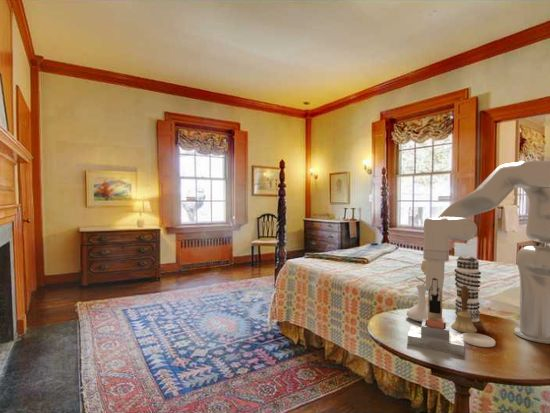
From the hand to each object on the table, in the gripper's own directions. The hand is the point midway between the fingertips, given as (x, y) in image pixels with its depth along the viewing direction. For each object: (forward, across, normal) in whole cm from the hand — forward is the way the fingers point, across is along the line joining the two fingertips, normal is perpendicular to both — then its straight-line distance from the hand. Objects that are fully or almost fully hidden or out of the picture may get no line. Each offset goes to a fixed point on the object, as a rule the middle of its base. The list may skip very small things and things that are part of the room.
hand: (435, 310), depth 107 cm
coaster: (+11, -10, +13) cm, 20 cm away
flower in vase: (+11, -23, -5) cm, 26 cm away
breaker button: (+7, 0, 0) cm, 7 cm away
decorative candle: (+11, -34, +10) cm, 37 cm away
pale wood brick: (+3, 0, 0) cm, 3 cm away
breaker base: (+11, 0, 0) cm, 11 cm away
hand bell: (+11, -20, +9) cm, 25 cm away
